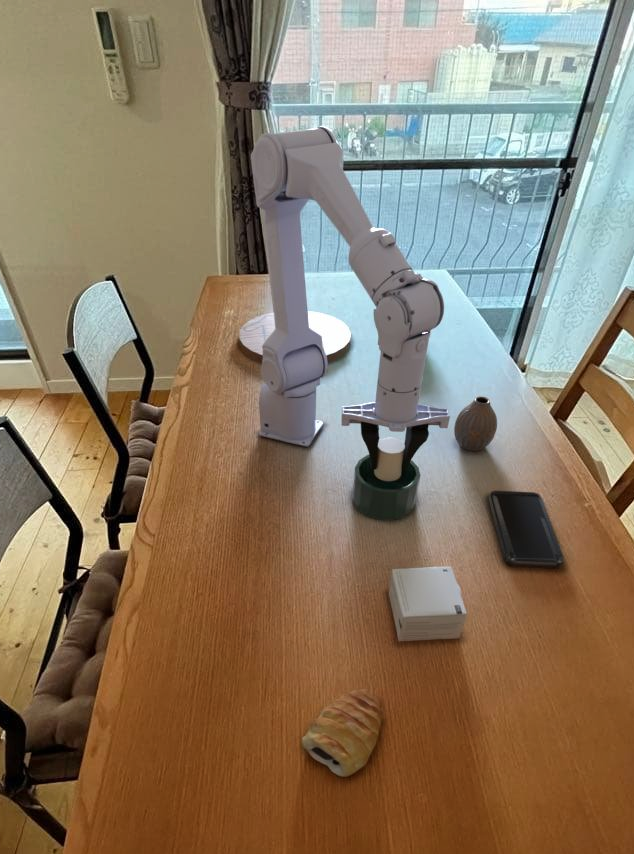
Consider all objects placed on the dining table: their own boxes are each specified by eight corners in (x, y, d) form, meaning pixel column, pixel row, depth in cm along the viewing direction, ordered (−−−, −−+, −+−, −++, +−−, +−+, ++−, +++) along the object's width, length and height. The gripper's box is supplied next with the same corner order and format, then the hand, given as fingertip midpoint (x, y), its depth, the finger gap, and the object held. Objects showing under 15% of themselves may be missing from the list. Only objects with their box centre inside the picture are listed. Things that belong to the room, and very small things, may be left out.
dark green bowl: (344, 510, 84) (346, 482, 81) (363, 474, 91) (366, 446, 87) (405, 526, 82) (410, 498, 78) (421, 488, 88) (426, 460, 84)
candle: (370, 477, 82) (373, 449, 78) (378, 462, 85) (381, 434, 81) (396, 484, 81) (401, 456, 77) (404, 468, 83) (408, 440, 80)
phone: (507, 560, 75) (489, 490, 86) (505, 566, 76) (487, 495, 87) (566, 563, 75) (540, 492, 86) (563, 568, 76) (538, 497, 87)
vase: (491, 458, 94) (505, 413, 88) (450, 453, 95) (460, 408, 89) (490, 435, 99) (503, 391, 93) (451, 431, 100) (461, 387, 94)
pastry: (344, 685, 63) (347, 666, 60) (397, 717, 61) (401, 699, 58) (297, 750, 58) (297, 733, 55) (352, 788, 55) (354, 773, 52)
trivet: (249, 374, 114) (248, 365, 113) (232, 323, 131) (231, 315, 130) (364, 361, 118) (365, 352, 117) (333, 313, 136) (334, 306, 134)
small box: (386, 593, 73) (391, 567, 69) (445, 590, 73) (453, 564, 70) (397, 642, 67) (402, 617, 64) (460, 640, 68) (469, 614, 64)
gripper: (344, 396, 69) (339, 481, 79) (460, 399, 69) (441, 483, 79) (343, 369, 74) (339, 452, 84) (451, 371, 74) (434, 454, 84)
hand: (388, 465), depth 82 cm, fingers closed on candle, 4 cm apart
